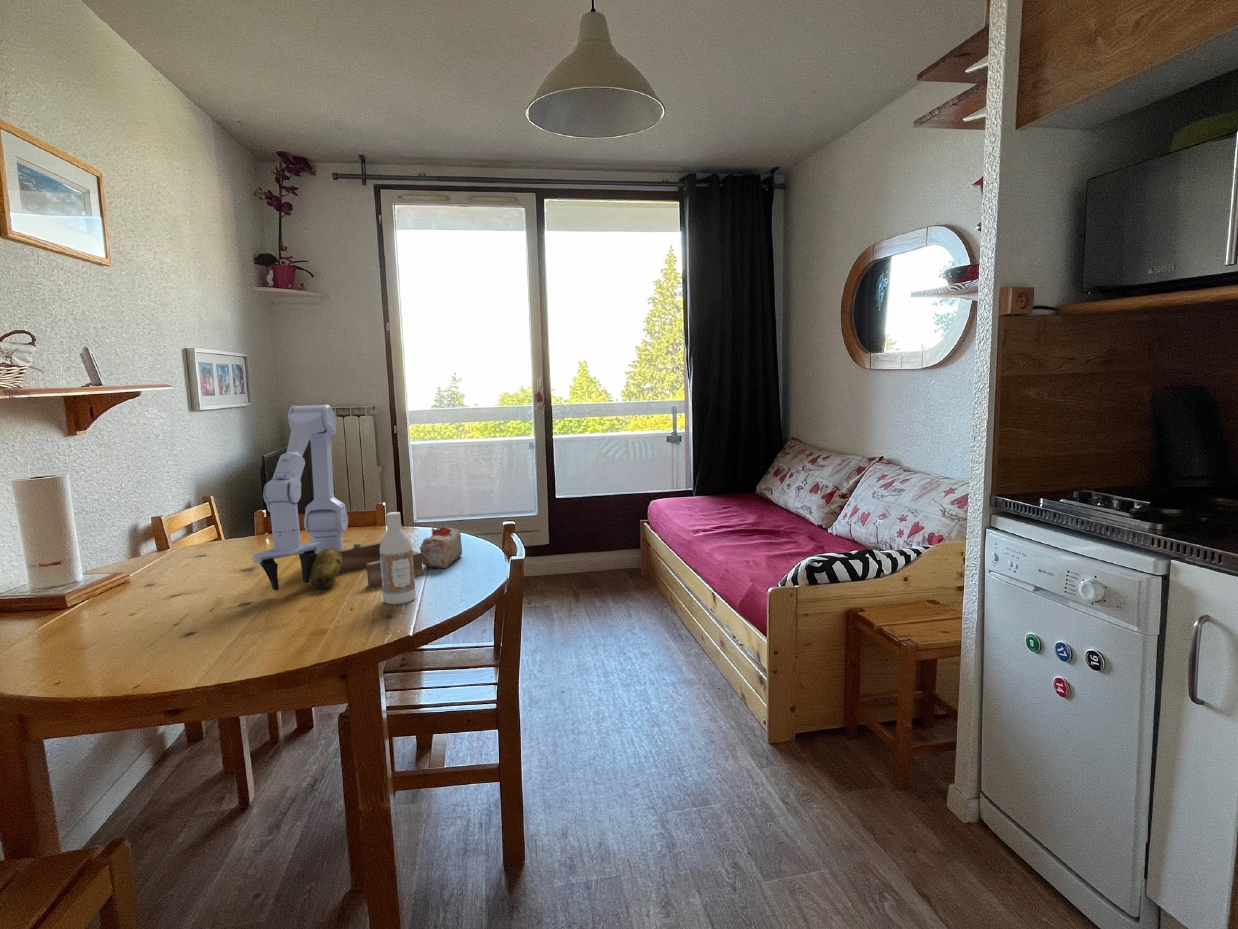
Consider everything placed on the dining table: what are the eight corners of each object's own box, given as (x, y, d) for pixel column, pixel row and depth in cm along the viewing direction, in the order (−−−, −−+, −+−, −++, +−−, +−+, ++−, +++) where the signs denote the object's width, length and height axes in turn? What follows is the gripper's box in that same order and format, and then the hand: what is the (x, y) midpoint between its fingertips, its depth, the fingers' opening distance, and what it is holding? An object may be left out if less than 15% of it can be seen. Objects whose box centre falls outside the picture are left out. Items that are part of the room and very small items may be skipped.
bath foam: (387, 607, 141) (380, 517, 139) (380, 599, 147) (373, 512, 144) (419, 600, 145) (413, 513, 142) (410, 593, 151) (404, 508, 148)
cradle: (335, 571, 170) (332, 547, 170) (383, 560, 180) (381, 537, 179) (372, 587, 156) (369, 560, 155) (422, 574, 166) (420, 549, 165)
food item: (448, 570, 169) (446, 533, 168) (418, 570, 170) (416, 533, 169) (465, 556, 183) (462, 522, 181) (437, 556, 183) (435, 522, 182)
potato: (296, 591, 154) (293, 559, 153) (323, 576, 167) (321, 545, 166) (330, 591, 153) (327, 558, 152) (354, 576, 166) (352, 545, 165)
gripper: (258, 538, 144) (264, 597, 146) (324, 526, 154) (329, 581, 156) (247, 534, 149) (253, 591, 150) (312, 523, 159) (317, 576, 161)
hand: (291, 586), depth 154 cm, fingers open, 6 cm apart
